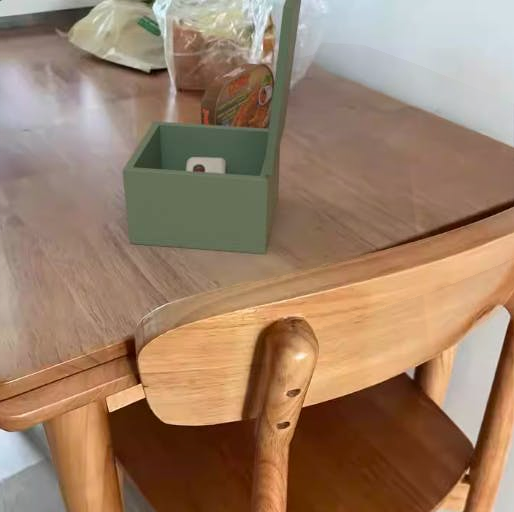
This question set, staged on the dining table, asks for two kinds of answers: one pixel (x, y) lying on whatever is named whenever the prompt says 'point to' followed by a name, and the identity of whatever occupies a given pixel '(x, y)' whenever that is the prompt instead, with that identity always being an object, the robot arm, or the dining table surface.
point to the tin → (239, 98)
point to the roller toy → (206, 165)
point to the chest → (201, 189)
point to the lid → (282, 81)
